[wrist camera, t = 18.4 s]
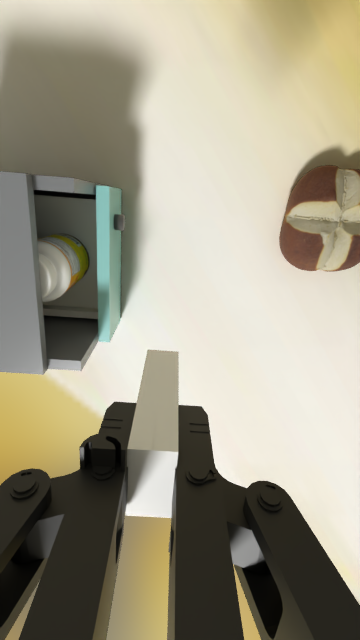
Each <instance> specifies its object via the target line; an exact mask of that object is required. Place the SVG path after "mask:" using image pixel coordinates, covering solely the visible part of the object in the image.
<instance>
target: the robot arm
mask: <svg viewBox="0 0 360 640" xmlns="http://www.w3.org/2000/svg"><path fill="white" fill-rule="evenodd" d="M125 511H126V513H125ZM125 514H126V515H127V516H128V515H129V516H146V517H164V518H165V517H166V518H171V519H172V520H171V532H170V542H169V552H170V560H169V596H168V633H167V640H244V636H243V629H242V622H241V616H240V609H239V602H238V595H237V589H236V582H235V575H234V568H233V564H234V567H235V570H236V572H237V575H238V577H239V580H240V583H241V586H242V588H243V591H244V594H245V597H246V599H247V602H248V605H249V607H250V610H251V613H252V616H253V618H254V621H255V623H256V626H257V629H258V632H259V634H260V637H261V640H360V605H359V603H358V602H357V600H356V599H355V597H354V596H353V594H352V593H351V591H350V589H349V588H348V586H347V585H346V583H345V582H344V580H343V578H342V577H341V575H340V574H339V572H338V571H337V569H336V568H335V566H334V564H333V563H332V561H331V560H330V558H329V557H328V555H327V553H326V552H325V550H324V549H323V547H322V546H321V544H320V543H319V541H318V539H317V538H316V536H315V535H314V533H313V532H312V530H311V528H310V527H309V525H308V524H307V522H306V521H305V519H304V518H303V516H302V514H301V513H300V511H299V510H298V508H297V507H296V505H295V503H294V502H293V500H292V499H291V497H290V496H289V495H288V494H287V492H286V491H285V490H284V489H282V488H281V487H279V486H278V485H276V484H274V483H271V482H268V481H257V482H254V483H252V484H251V485H250V486H249V487H248V488H244V487H241V486H238V485H236V484H233V483H231V482H229V481H227V480H226V479H224V478H223V477H222V476H221V475H220V474H219V473H218V470H217V469H216V468H215V464H214V458H213V451H212V444H211V436H210V429H209V422H208V415H207V414H206V412H205V411H204V409H203V408H202V407H200V406H185V405H178V352H173V351H159V350H148V351H147V356H146V361H145V366H144V370H143V375H142V380H141V385H140V390H139V395H138V400H137V403H126V402H114V403H113V404H112V405H111V406H110V407H109V408H107V410H106V413H105V415H104V418H103V421H102V424H101V428H100V430H99V433H98V434H96V435H93V436H90V437H89V438H87V439H86V440H85V441H84V442H83V443H82V444H81V446H80V469H79V470H78V471H76V472H74V473H72V474H68V475H65V476H60V477H56V478H51V479H50V477H49V476H48V474H47V473H46V472H44V471H42V470H40V469H27V470H22V471H20V472H18V473H16V474H13V475H11V476H10V477H9V478H8V479H7V480H5V481H4V482H3V483H2V484H1V485H0V640H5V638H6V636H7V635H8V633H9V631H10V630H11V628H12V626H13V625H14V623H15V621H16V619H17V618H18V616H19V614H20V613H21V611H22V609H23V608H24V606H25V604H26V603H27V601H28V599H29V597H30V596H31V594H32V592H33V591H34V589H35V587H36V586H37V584H38V582H39V580H40V582H39V585H38V588H37V591H36V593H35V596H34V599H33V602H32V604H31V607H30V610H29V613H28V615H27V618H26V621H25V624H24V626H23V629H22V632H21V635H20V637H19V640H106V637H107V631H108V625H109V619H110V612H111V606H112V600H113V594H114V588H115V582H116V576H117V569H118V563H119V557H120V551H121V545H122V538H123V530H124V529H123V528H124V517H125Z"/></svg>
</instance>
